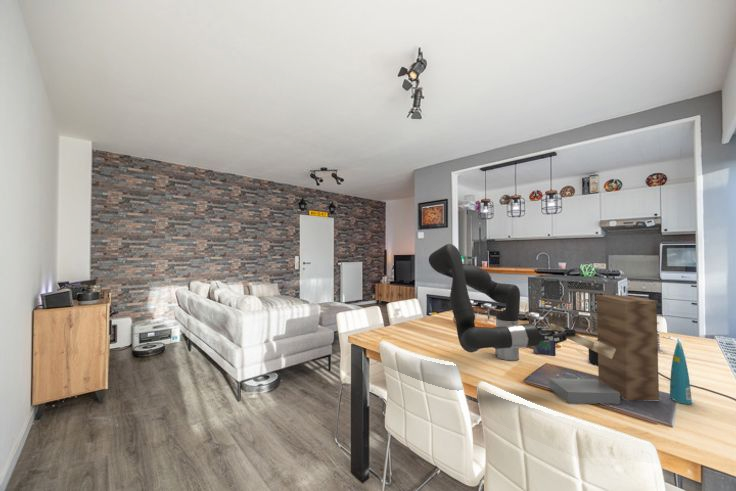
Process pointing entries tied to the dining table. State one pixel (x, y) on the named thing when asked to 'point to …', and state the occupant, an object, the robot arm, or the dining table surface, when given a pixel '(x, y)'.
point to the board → (584, 391)
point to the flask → (545, 348)
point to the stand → (629, 345)
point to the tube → (680, 377)
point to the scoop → (589, 343)
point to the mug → (593, 357)
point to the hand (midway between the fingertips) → (571, 331)
